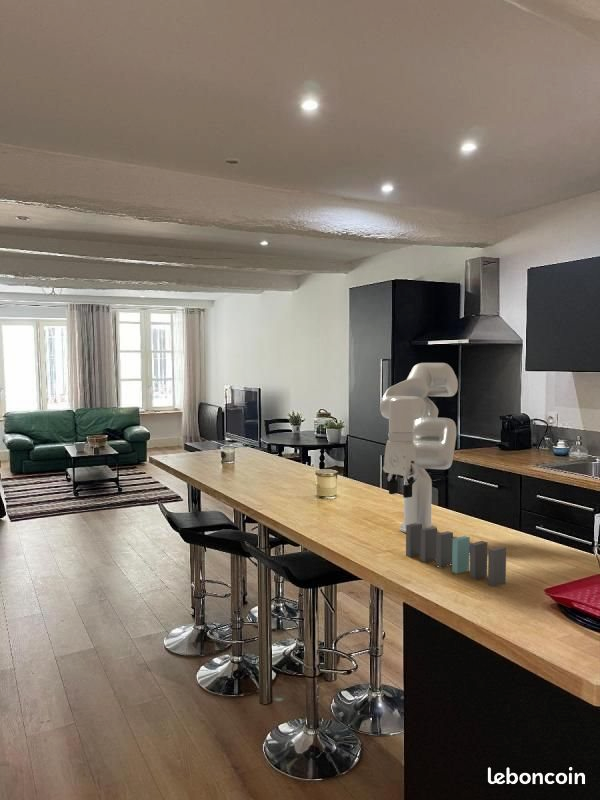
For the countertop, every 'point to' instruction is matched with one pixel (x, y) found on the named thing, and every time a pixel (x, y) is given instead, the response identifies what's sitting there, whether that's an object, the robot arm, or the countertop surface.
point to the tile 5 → (478, 560)
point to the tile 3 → (444, 548)
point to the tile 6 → (497, 566)
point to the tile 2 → (428, 544)
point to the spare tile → (460, 554)
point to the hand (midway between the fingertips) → (400, 494)
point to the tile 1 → (413, 539)
